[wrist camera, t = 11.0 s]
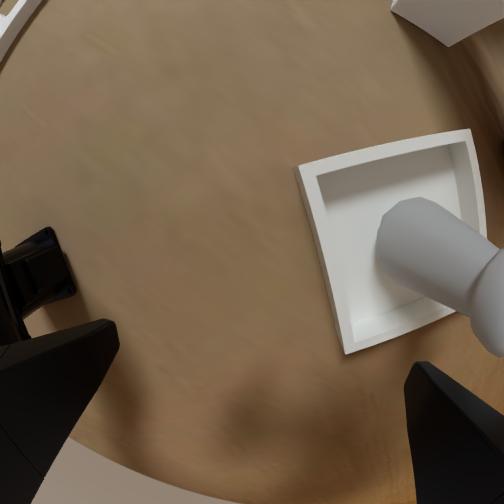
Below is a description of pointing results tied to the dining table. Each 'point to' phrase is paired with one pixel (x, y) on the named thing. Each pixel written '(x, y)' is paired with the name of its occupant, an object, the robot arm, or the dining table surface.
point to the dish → (368, 222)
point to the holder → (15, 23)
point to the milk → (450, 16)
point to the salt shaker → (446, 264)
